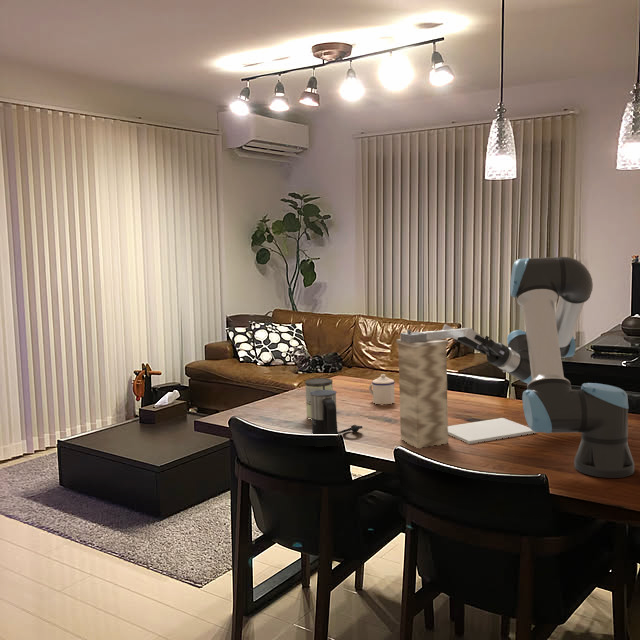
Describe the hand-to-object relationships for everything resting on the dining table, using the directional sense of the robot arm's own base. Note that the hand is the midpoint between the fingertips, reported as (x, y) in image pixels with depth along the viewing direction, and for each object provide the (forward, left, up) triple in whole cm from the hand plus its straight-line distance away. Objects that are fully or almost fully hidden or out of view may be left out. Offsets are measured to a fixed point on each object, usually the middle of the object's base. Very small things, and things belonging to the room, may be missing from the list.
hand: (454, 329), depth 216 cm
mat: (+6, -10, -35) cm, 37 cm away
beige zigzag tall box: (-7, +10, -35) cm, 37 cm away
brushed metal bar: (-4, +5, -2) cm, 7 cm away
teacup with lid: (+46, +30, -36) cm, 66 cm away
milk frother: (-1, +40, -36) cm, 53 cm away
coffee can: (+21, +50, -36) cm, 65 cm away
